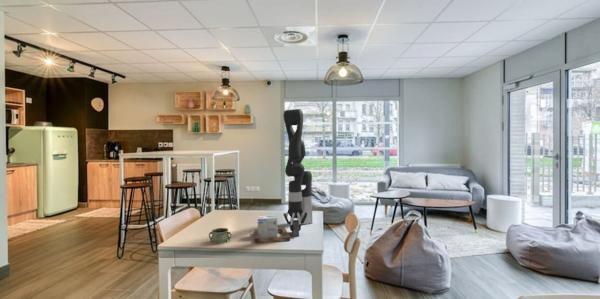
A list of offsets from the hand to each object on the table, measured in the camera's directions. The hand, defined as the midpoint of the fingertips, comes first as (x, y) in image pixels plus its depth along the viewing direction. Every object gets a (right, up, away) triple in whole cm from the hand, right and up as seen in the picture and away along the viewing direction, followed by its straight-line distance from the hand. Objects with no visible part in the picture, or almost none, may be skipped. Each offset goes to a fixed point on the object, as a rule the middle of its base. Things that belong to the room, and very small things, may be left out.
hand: (295, 230), depth 173 cm
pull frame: (-10, -3, -2) cm, 11 cm away
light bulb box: (-15, -3, 0) cm, 15 cm away
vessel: (-39, -4, -10) cm, 40 cm away
